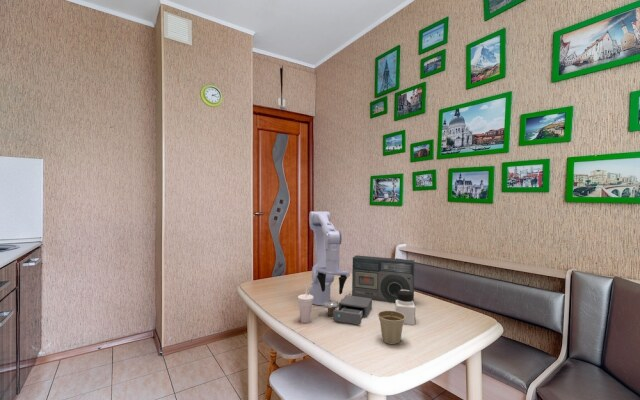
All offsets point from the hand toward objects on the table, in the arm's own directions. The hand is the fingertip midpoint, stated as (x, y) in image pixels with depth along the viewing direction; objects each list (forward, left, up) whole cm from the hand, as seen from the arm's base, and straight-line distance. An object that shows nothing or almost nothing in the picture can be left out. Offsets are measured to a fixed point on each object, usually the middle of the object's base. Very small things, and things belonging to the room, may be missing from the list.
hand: (332, 292), depth 122 cm
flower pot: (+26, -12, -10) cm, 30 cm away
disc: (0, 0, -6) cm, 6 cm away
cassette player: (+16, +30, -10) cm, 35 cm away
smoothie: (-8, -9, -10) cm, 16 cm away
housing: (+8, +10, -10) cm, 16 cm away
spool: (0, 0, -10) cm, 10 cm away
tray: (+8, 0, -9) cm, 12 cm away
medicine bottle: (+29, +7, -10) cm, 31 cm away
